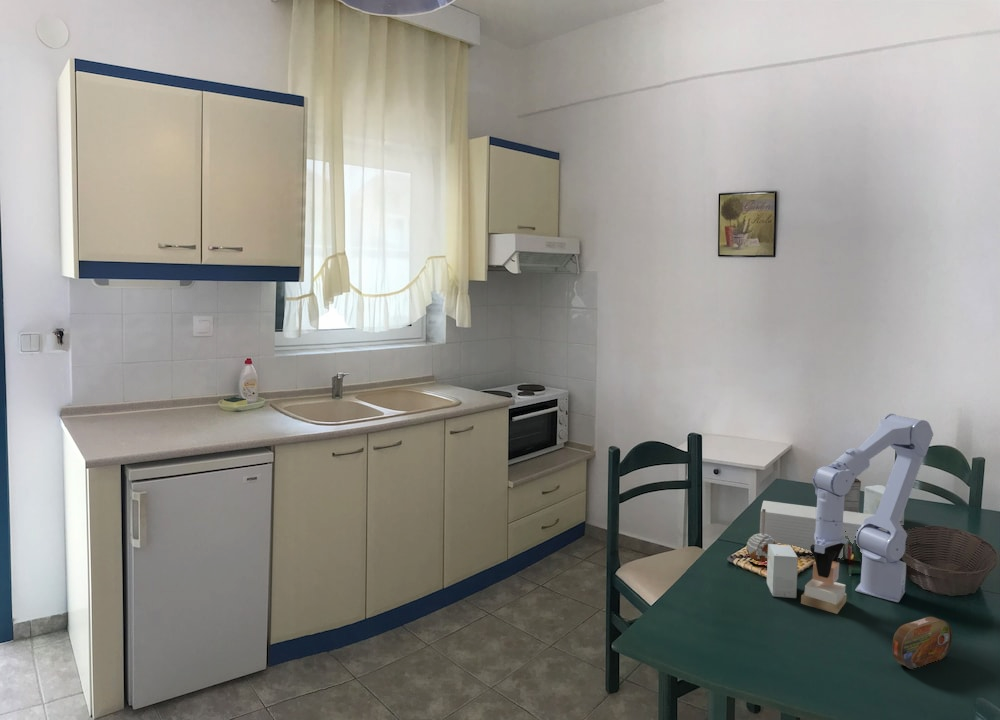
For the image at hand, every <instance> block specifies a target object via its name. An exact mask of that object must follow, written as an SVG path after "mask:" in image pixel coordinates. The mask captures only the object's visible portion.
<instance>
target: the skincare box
mask: <svg viewBox="0 0 1000 720" xmlns="http://www.w3.org/2000/svg"><path fill="white" fill-rule="evenodd" d="M885 488H886V486H884V485H881V484H876V485H875V484H874V485H868V486H864V494H863V495H864V497H863V513H865V514H873V515H875V514H876V513H877V510H878V507H879V504H880V502H881V499H882V496H883V493H884V491H885ZM904 523H905V511H904V512H903V515H902V518H901V521H900V525H904V526H905V524H904Z"/></svg>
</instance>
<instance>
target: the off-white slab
mask: <svg viewBox="0 0 1000 720" xmlns="http://www.w3.org/2000/svg"><path fill="white" fill-rule="evenodd" d="M846 586H847V585H846V584H844V583H840V582H838V581H836V582H835V583H834V584H833V585H831V584H828V583H824V582H821V581H817V580H813V579H812V578H811V579H810V580H809V581H808V582H807V583H806V584H805V585H804V592H805V596H808V597H812V598H815V599H818V600H822V601H825V602H828V603H832V604H835V605H836V604H837V603H838V602H839V601H840V600H841V599H842V597H843V596H844V595H845V594H846Z"/></svg>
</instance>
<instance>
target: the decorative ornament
mask: <svg viewBox="0 0 1000 720" xmlns="http://www.w3.org/2000/svg"><path fill="white" fill-rule="evenodd" d="M765 510H766V509H762V530H761V533H760V532H759V533H756V534H753V535H751V536H750V537H749V538H748V540H747V541H746V552H747V554H748V556H750V558H752V559H754V560H756V561H762V562H765V561H767V560H768V544H776V541H775V540H774V539H773V538H772V537H771V536H769V535H767V534H764V532H765Z"/></svg>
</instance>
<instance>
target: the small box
mask: <svg viewBox="0 0 1000 720" xmlns="http://www.w3.org/2000/svg"><path fill="white" fill-rule="evenodd" d="M798 566H799V557H798V555H797V552H794V550H793V548H792V547H791V545H778V544H768V560H767V566H766V567H767V568H766V571H767V572H766V584H767V587H768V589H769V592H770V593H771V595H772V597H775V598H790V599H797V594H798V593H797V592H798V591H797V589H798V568H799V567H798Z"/></svg>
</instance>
